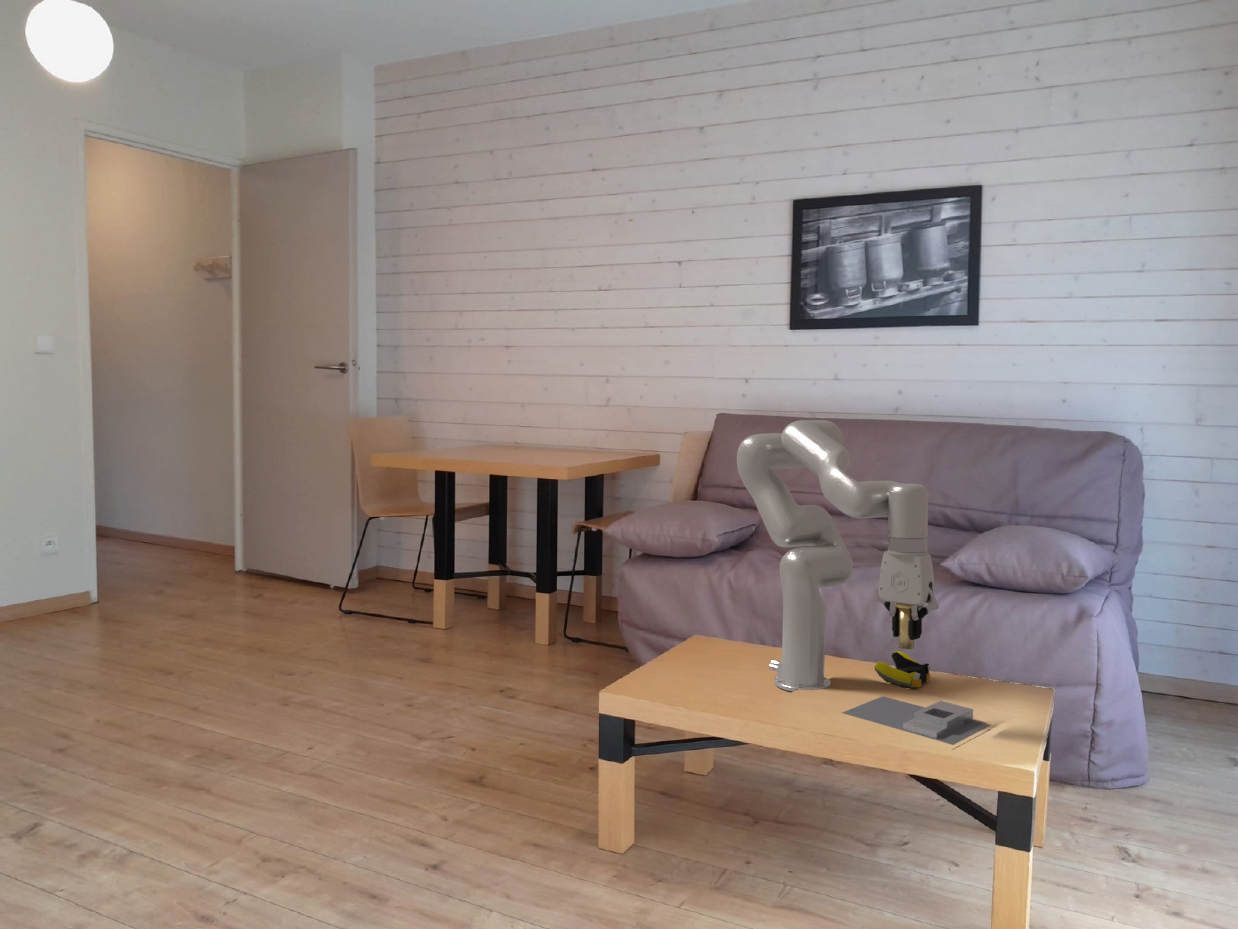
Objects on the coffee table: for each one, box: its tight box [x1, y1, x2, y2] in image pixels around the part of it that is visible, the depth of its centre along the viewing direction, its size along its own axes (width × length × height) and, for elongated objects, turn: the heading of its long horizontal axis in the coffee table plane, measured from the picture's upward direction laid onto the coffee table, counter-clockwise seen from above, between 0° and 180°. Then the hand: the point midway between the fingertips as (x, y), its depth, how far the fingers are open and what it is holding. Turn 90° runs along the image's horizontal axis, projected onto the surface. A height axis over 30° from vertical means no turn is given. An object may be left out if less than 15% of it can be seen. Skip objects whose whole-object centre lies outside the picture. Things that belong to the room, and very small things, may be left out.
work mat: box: [841, 696, 991, 750], centre depth 191 cm, size 24×16×1 cm, turn 44°
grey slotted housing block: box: [903, 700, 974, 739], centre depth 187 cm, size 7×15×2 cm, turn 134°
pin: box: [895, 603, 915, 650], centre depth 189 cm, size 4×4×9 cm
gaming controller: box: [874, 650, 932, 689], centre depth 219 cm, size 15×6×10 cm
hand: (906, 636), depth 189 cm, fingers closed on pin, 3 cm apart
